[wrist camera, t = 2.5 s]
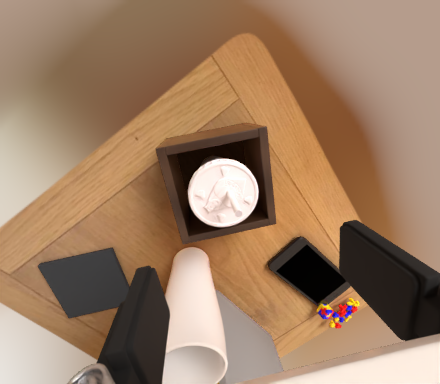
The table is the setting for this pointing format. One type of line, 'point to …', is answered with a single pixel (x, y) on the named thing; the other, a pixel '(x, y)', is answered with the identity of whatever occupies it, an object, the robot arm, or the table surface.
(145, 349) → the robot arm
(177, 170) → the holder
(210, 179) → the smoothie
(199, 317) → the drinking glass
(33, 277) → the table surface
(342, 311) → the building blocks
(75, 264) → the mat
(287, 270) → the smartphone
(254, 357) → the alarm clock
